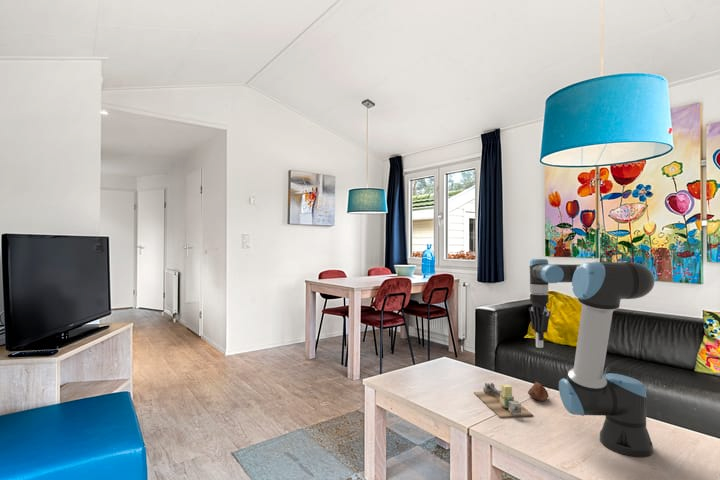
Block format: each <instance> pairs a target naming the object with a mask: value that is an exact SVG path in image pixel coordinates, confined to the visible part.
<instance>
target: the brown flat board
mask: <svg viewBox="0 0 720 480" xmlns="http://www.w3.org/2000/svg"><path fill="white" fill-rule="evenodd" d="M473 394H474V395H475V396H476V397H477V398H478V399H479V400H480V401H481V402H482V403H484V405H485V406H486V407H488V408H489V409H490V410H491V411H492V412H493V413H494V414H495V415H496V416H497V417H498V418H499V419H509V418H510V419H511V418H526V417H527V418H528V417H530V418H531V417H534V414H533V413H531V411H529V410H528V409H527V408H525V407H524V406H523V405H522V403H520V401H518V400H516V399H514V400H513V399H506V406H507V407H506V408H504V407H503V406H502V405H501V404H500V394H502V390H498V389H496V387H495V383H493V382H490V383H488V382H485V383H484V387H483V391H473Z"/></svg>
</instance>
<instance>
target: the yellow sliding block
mask: <svg viewBox="0 0 720 480" xmlns="http://www.w3.org/2000/svg"><path fill="white" fill-rule="evenodd" d="M501 391H502V394H500V404H501V405H502V406H503V407H504V408H506V407H507V406H506V399H513V400H515V397H514V396H513V386H511V385H510V384H507V383H506V384H501Z"/></svg>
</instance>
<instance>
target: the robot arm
mask: <svg viewBox="0 0 720 480" xmlns="http://www.w3.org/2000/svg"><path fill="white" fill-rule="evenodd" d="M557 283H571V286H572V292H573V294H574V296H575V297H576V298H577V302H578V303H579V304H580V305H581V313H580V319H579V328H578V335H577V336H578V337H577V342H576V349H575V356H574V364H573V368H571V369H569V370H568V372H567V376H566V377H567V378H564V377H563V378H561V379H559V382H558V391H559V396H560V400H561V403H562V404H563V406H564V409H566V411H567V412H568V413H569V414H571V415H574V416H583V417H584V416H601V417H602V416H603V417H604V416H605V417H604V418H605V419H604V422H603V424H602V427H601V430H600V432H599V442H600V443H601V444H602V445H603V446H604V447H606V448H607V449H609V450H611V451H614V452H616V453H619V454H621V455H625V456H631V457H636V458H637V457H639V458H641V457H643V458H644V457H649V456H651V455H652V454H653V453H654V445H653V441H652V440H651V437H650V433H649V431H648V429H647V398H648V396H647V391H646V389H647V388H646V386H645V384H644V383H643V382H641V381H640V380H638V379H635V378H634V377H631V376H627V375H624V374H620V373H606V374H605V376H604V369H605V363H606V357H607V352H608V351H607V350H608V346H609V345H608V344H609V339H610V338H609V337H610V331H611V326H612V320H613V319H612V318H613V313H614V311H617V310H619V309H620V304H621V300H634V299H635V300H636V299H639V298H643V297H645V296H647V295H648V294H649V293H650V292H651V291H652V290H653V288H654V286H655V276H654V274H653V272H652V271H651V269H649V268H648V267H647V266H645V265H643V264H641V263H636V262H631V261H630V262H629V261H628V262H626V261H625V262H621V261H620V262H612V261H611V262H610V261H609V262H608V261H601V262H600V261H594V262H593V261H592V262H583V263H581V264H580V263H579V264H558V263H557V264H551V263H549V260H548V259H547V258H532V259H530V261H529V292H530V295H529V302H530V303H532V304H531V307H528V311H529V316H530V322H531V329H532V330H534V333H535V347H536V348H538V349H539V348H540V349H541V348H542V349H543V348H544V340H545V339H544V336H545V335H544V334H545V333H548V329H549V321H550V316H551V314H552V312H551V311H549V310H548V307H547V304H549V302H550V301H549V299H550V298H549V284H557Z"/></svg>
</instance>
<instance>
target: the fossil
mask: <svg viewBox="0 0 720 480" xmlns="http://www.w3.org/2000/svg"><path fill="white" fill-rule="evenodd" d="M531 386H532V387H530V388H529V389H528V391H527V394H528V395H529V396H530V397H532V399H535V400H536V401H540V402H544V401H545V400H547V399H548V398H550V397H549V392H548V391H547V389H546V388H545V387H544V385H543V384H542V383H540V382H537V381H535V382H534V384H533V385H531Z"/></svg>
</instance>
